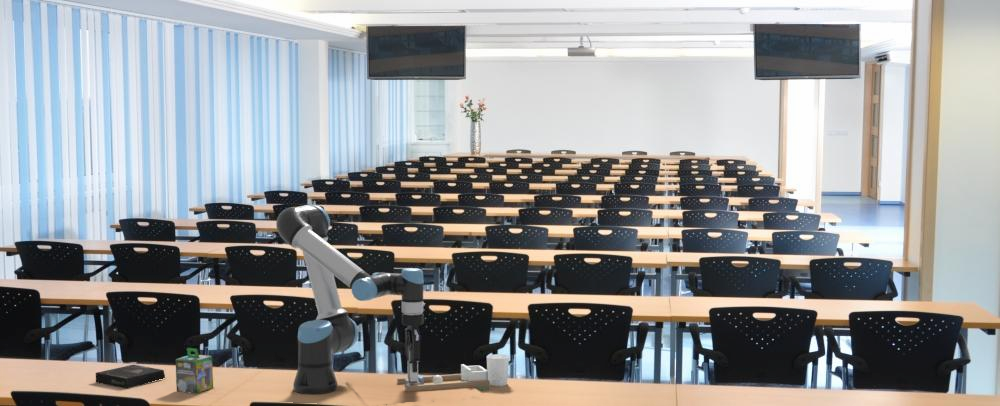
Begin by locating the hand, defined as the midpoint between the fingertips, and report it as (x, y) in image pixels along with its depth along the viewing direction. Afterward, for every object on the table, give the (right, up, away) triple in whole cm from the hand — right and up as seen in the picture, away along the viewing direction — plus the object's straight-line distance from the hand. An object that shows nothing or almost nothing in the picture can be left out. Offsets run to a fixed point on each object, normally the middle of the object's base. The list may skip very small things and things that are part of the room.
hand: (412, 379), depth 386 cm
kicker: (0, -2, 0) cm, 2 cm away
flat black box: (-102, -3, +13) cm, 103 cm away
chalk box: (-76, -4, -1) cm, 76 cm away
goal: (+21, -3, +7) cm, 23 cm away
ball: (+9, -1, +3) cm, 9 cm away
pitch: (+10, -3, +4) cm, 11 cm away
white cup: (+30, -3, +10) cm, 31 cm away
